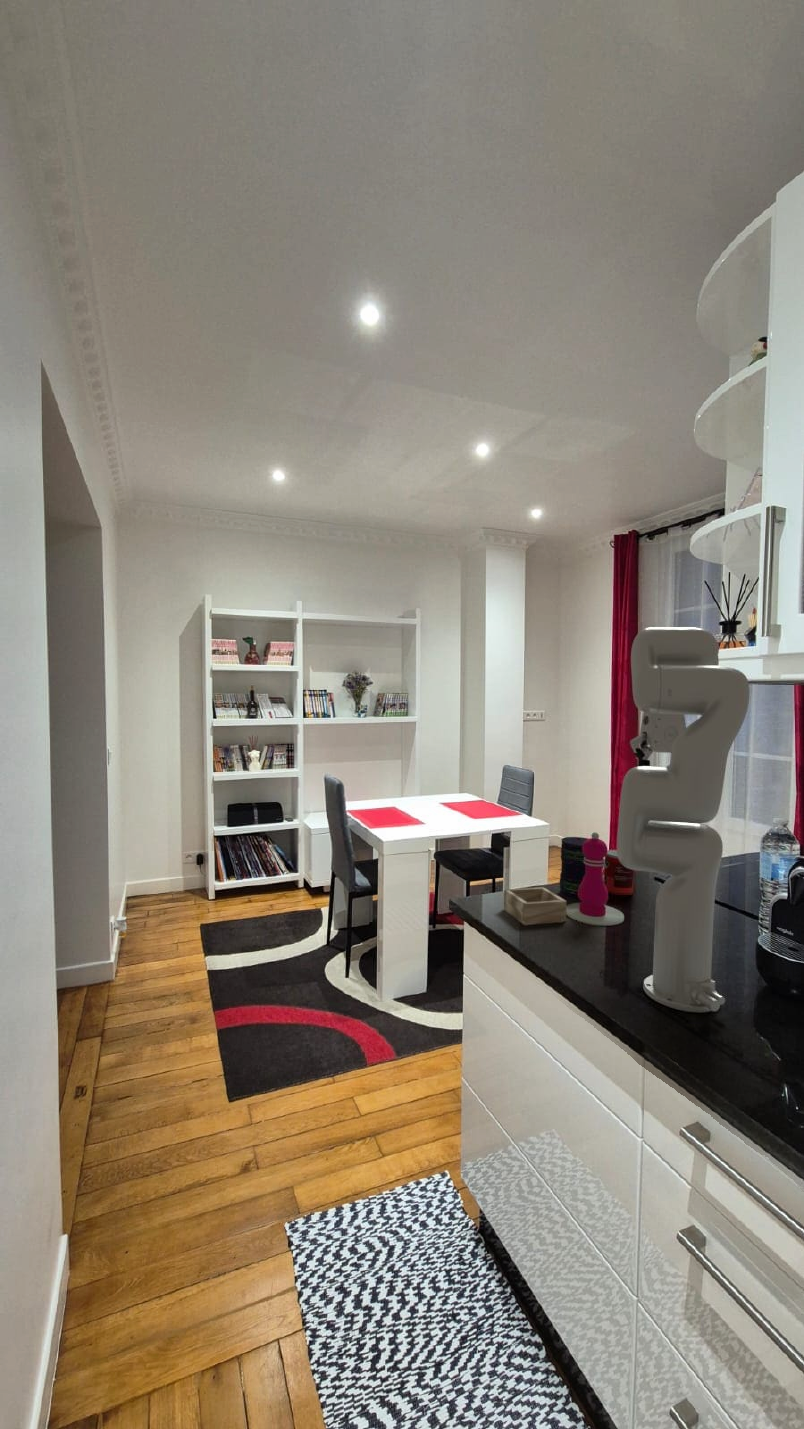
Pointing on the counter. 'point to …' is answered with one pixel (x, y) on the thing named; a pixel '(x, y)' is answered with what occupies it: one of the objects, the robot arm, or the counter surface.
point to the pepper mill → (593, 878)
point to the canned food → (617, 875)
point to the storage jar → (572, 866)
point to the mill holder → (534, 905)
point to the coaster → (608, 919)
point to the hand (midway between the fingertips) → (660, 776)
